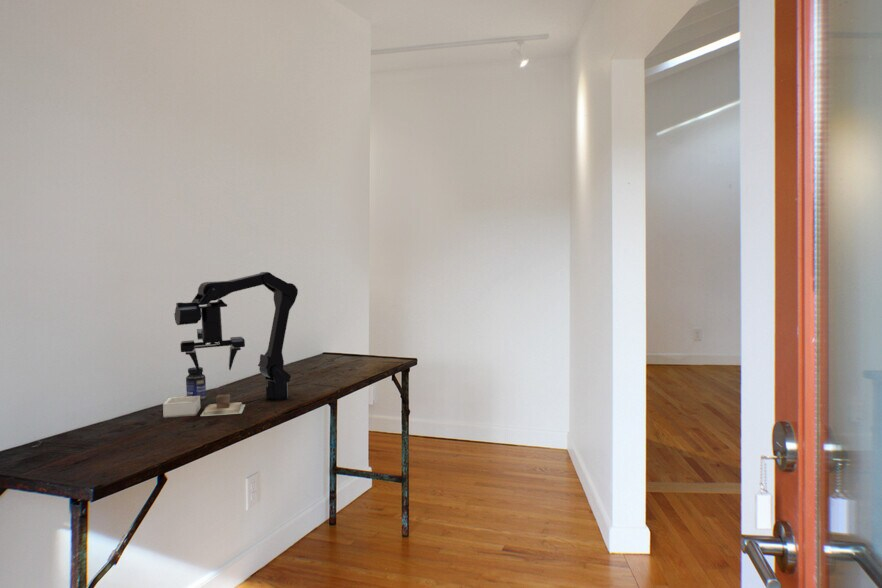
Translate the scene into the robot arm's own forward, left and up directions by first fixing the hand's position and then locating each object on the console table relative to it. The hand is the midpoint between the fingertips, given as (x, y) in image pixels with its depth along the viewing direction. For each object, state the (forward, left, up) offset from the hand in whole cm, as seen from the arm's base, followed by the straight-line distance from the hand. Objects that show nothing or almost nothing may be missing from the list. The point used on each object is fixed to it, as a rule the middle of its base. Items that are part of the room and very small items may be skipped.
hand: (214, 371), depth 193 cm
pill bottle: (+8, -16, -13) cm, 22 cm away
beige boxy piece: (+9, +3, -12) cm, 16 cm away
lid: (-3, +3, -12) cm, 12 cm away
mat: (-3, +3, -12) cm, 13 cm away
